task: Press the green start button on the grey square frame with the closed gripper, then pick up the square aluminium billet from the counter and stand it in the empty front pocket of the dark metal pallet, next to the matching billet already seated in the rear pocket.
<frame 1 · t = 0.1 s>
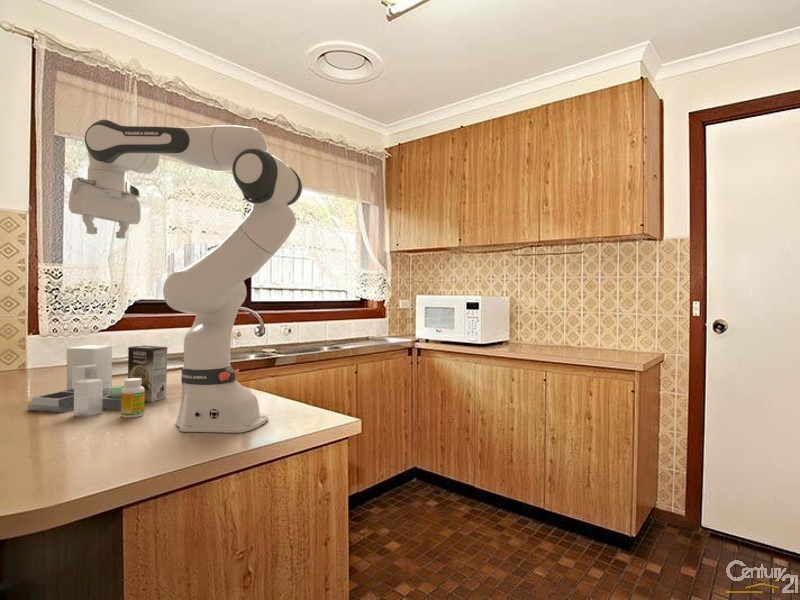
hand: (106, 236, 123), 48 cm above the table, tool pointing down, fingers open, 8 cm apart
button: (118, 392, 131), point 4 cm above the table, slide at 0.0 cm
grey square frame: (118, 406, 131), on the table
supplement bottle: (132, 416, 122), on the table
supplement box: (89, 393, 147), on the table
billet: (88, 414, 122), on the table
coffee box: (147, 399, 141), on the table
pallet: (72, 404, 132), on the table
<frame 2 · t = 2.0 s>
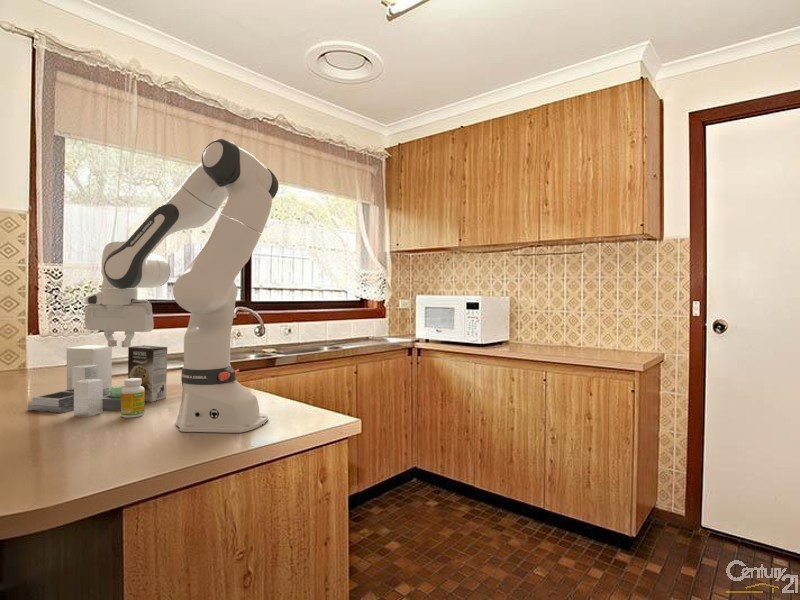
hand: (119, 346, 131), 17 cm above the table, tool pointing down, fingers open, 3 cm apart
nothing on the table moved.
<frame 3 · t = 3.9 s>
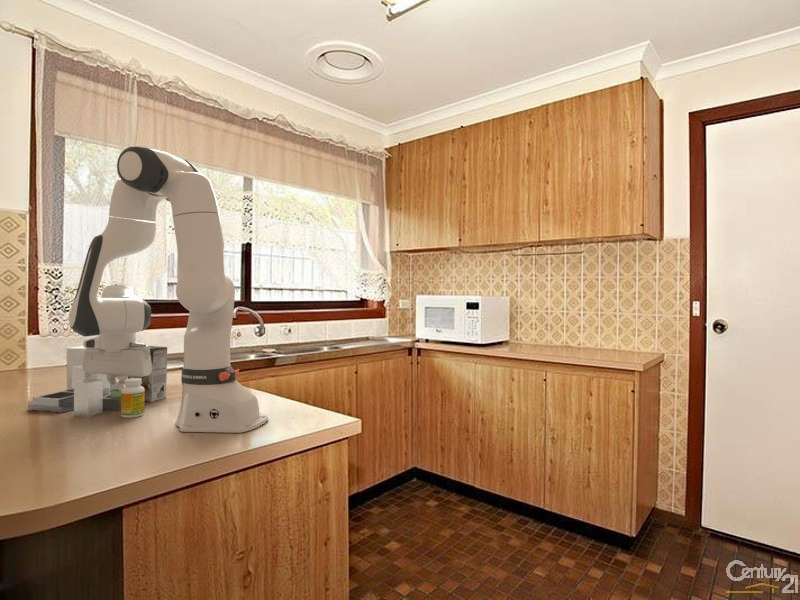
hand: (116, 390, 131), 5 cm above the table, tool pointing down, fingers closed, pressing on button
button: (118, 395, 131), point 3 cm above the table, slide at 0.9 cm, touching gripper
everything else where it was.
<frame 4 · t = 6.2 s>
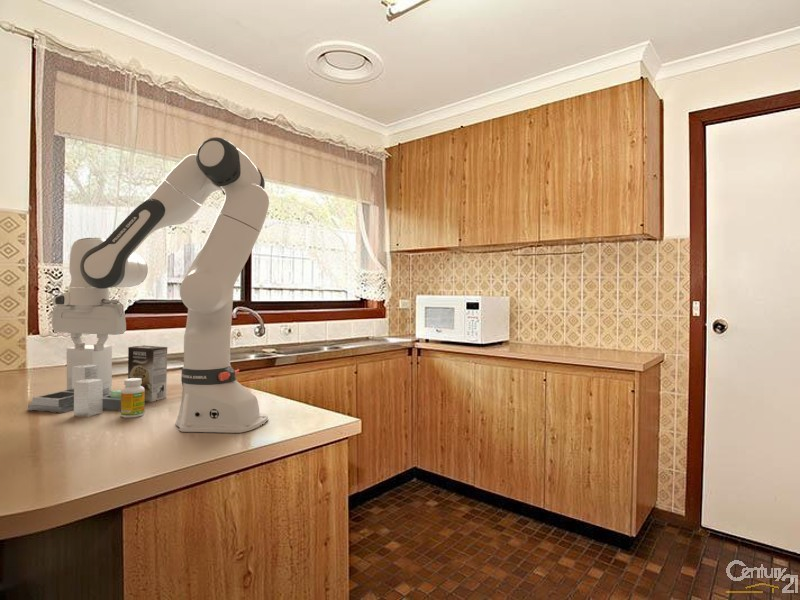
hand: (89, 350, 122), 17 cm above the table, tool pointing down, fingers open, 5 cm apart
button: (118, 396, 131), point 3 cm above the table, slide at 1.1 cm
everything else where it was.
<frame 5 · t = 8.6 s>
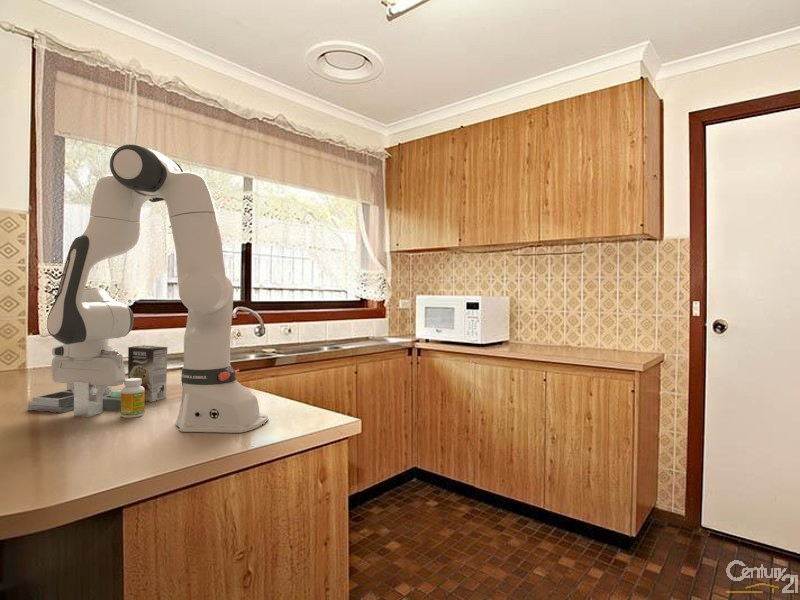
hand: (88, 400, 122), 4 cm above the table, tool pointing down, fingers closed on billet, 4 cm apart
billet: (88, 414, 122), on the table, touching gripper
everything else where it was.
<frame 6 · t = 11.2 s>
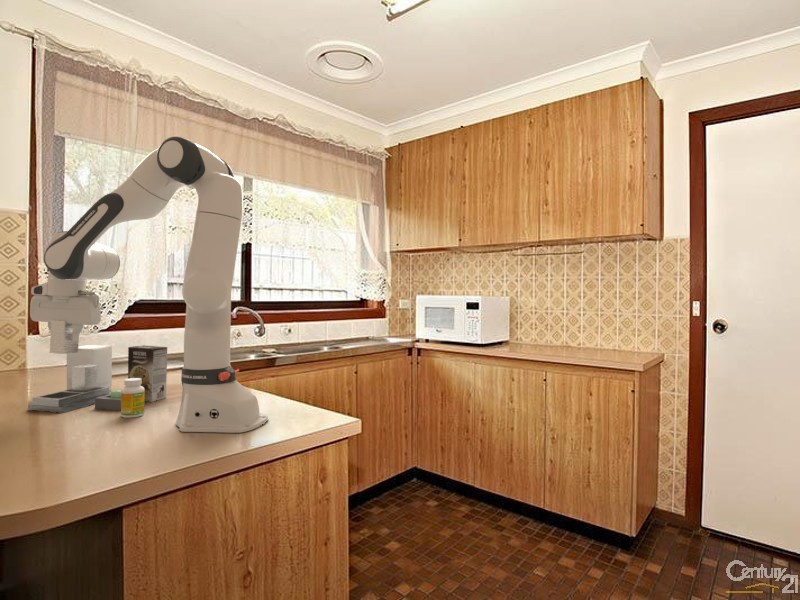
hand: (64, 339, 127), 19 cm above the table, tool pointing down, fingers closed on billet, 4 cm apart
billet: (64, 352, 127), point 16 cm above the table, touching gripper
everything else where it was.
when the fingers open (7 cm above the table, at t = 13.9 s): billet drops 2 cm, resting on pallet.
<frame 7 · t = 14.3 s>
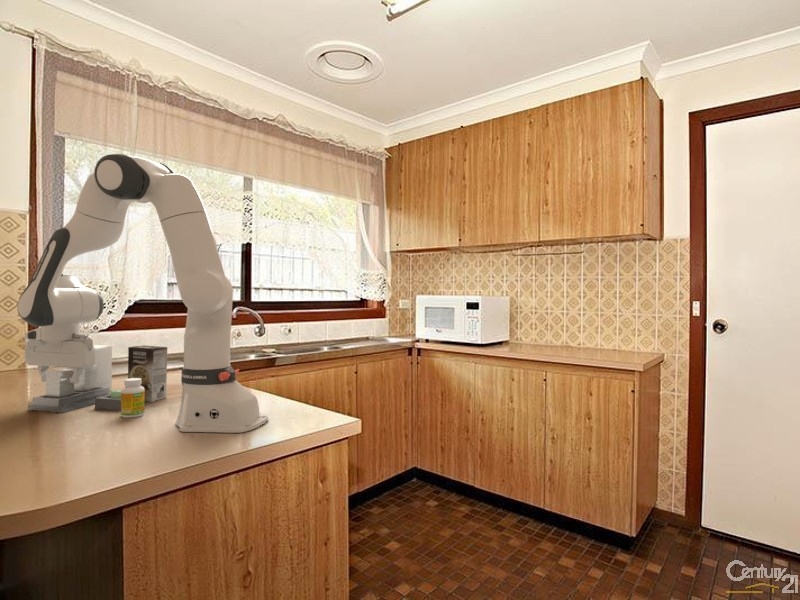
hand: (60, 382, 128), 7 cm above the table, tool pointing down, fingers open, 8 cm apart
billet: (60, 402, 128), point 1 cm above the table, touching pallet
everything else where it was.
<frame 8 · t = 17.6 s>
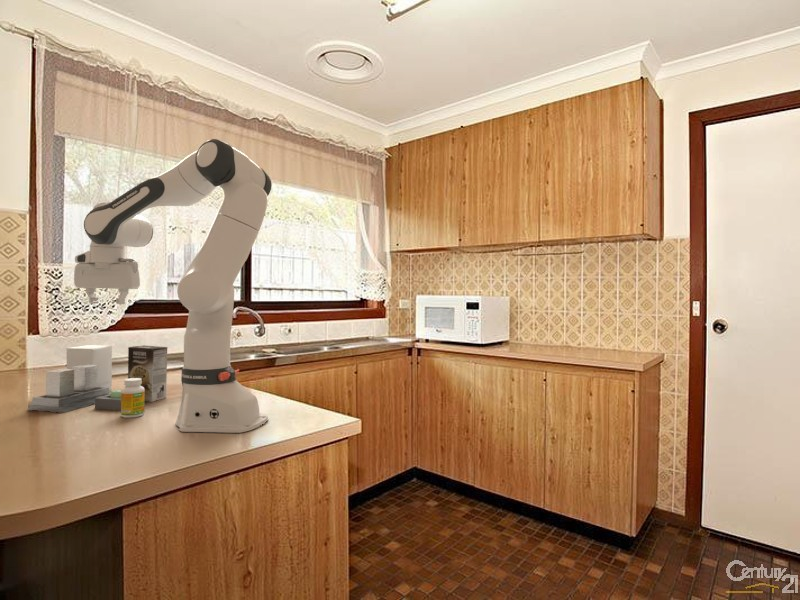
hand: (106, 303, 137), 29 cm above the table, tool pointing down, fingers open, 8 cm apart
nothing on the table moved.
at the end: billet inside the target area (0.1 cm from its centre), point 1.5 cm above the table; billet tilted 0°; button slide at 1.1 cm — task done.
